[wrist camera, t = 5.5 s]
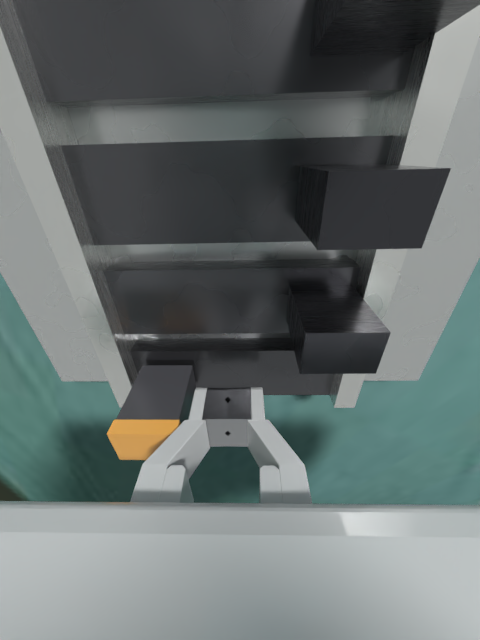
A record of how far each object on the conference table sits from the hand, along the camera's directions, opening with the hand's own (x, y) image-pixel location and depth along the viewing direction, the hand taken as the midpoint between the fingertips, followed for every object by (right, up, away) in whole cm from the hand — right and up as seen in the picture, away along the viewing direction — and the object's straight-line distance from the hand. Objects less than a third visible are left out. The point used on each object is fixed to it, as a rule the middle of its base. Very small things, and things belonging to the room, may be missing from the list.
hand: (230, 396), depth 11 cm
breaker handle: (-3, +1, +1) cm, 3 cm away
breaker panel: (0, +7, 0) cm, 7 cm away
